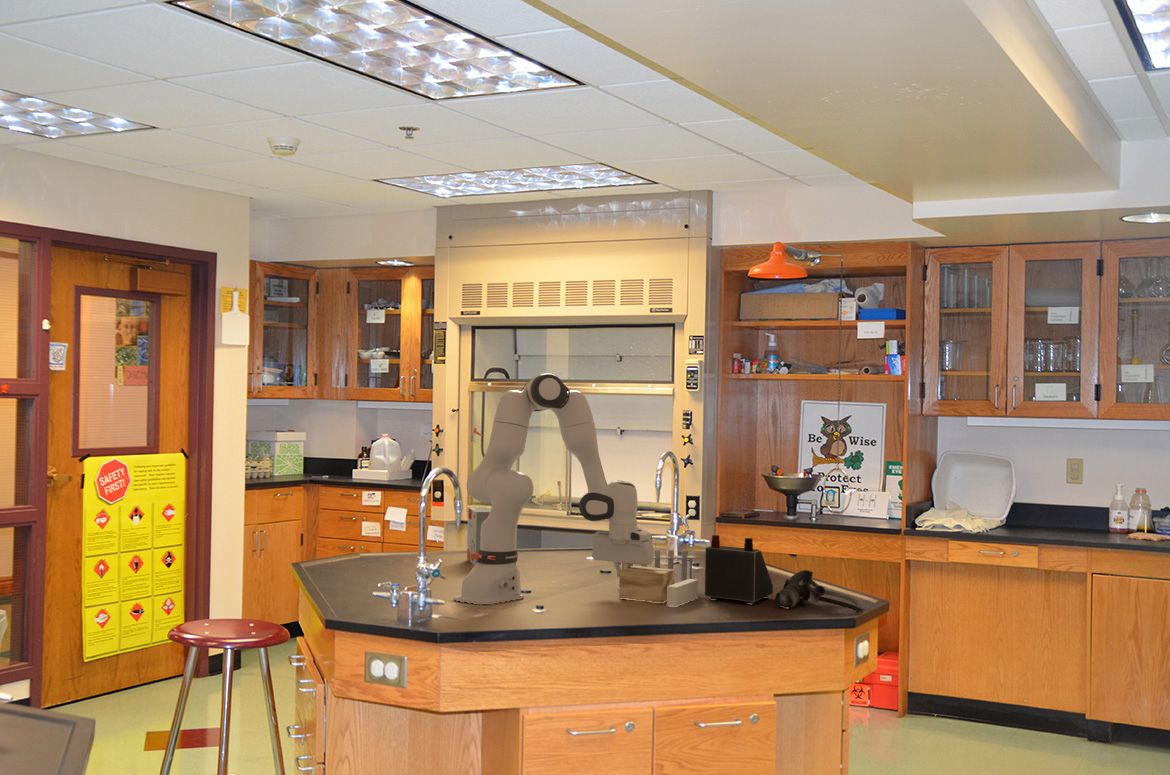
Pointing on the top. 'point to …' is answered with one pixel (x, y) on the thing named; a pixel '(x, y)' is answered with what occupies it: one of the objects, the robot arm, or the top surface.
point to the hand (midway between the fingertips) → (622, 576)
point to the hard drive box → (475, 530)
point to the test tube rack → (670, 562)
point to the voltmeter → (736, 572)
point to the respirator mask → (809, 592)
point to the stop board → (682, 592)
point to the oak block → (645, 583)
